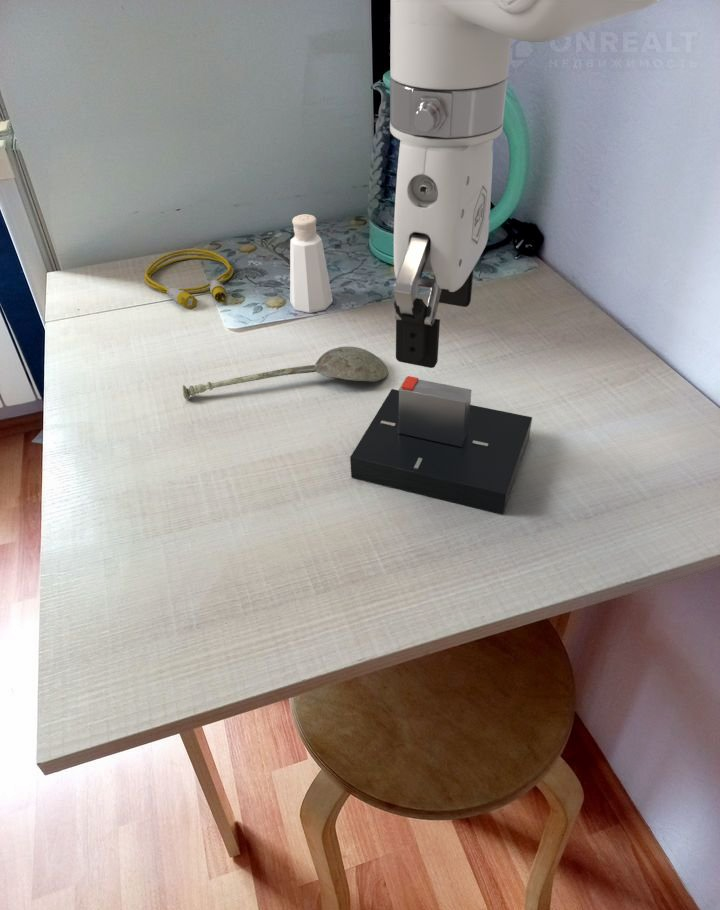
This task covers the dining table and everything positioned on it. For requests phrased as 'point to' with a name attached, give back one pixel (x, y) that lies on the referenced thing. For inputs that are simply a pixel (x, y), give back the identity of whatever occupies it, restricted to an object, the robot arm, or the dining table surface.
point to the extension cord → (184, 294)
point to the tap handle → (434, 411)
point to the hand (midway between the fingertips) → (435, 331)
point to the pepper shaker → (308, 268)
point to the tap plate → (445, 457)
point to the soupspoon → (317, 369)
